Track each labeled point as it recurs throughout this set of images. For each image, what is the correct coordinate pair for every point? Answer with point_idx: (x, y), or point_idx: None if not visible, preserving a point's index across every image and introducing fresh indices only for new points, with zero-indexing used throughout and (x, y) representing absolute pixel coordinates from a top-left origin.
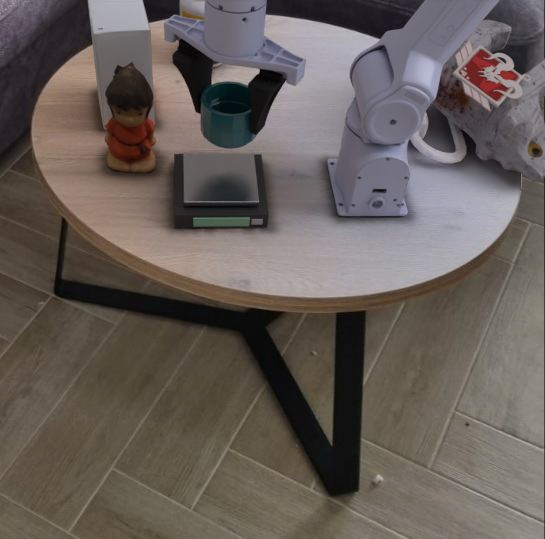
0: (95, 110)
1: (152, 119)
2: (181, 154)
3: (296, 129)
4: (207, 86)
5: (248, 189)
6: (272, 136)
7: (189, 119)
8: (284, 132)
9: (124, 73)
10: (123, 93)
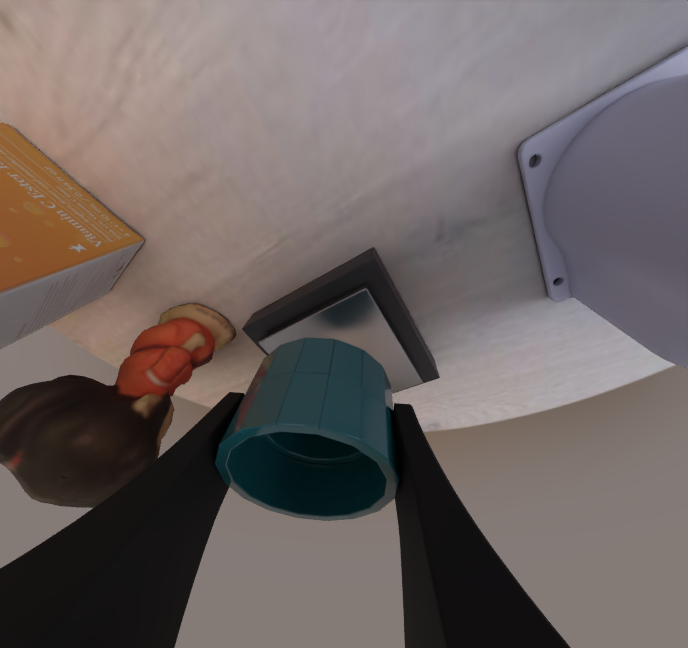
0: None
1: (132, 247)
2: (251, 325)
3: (401, 33)
4: (211, 456)
5: (396, 368)
6: (353, 120)
7: (169, 178)
8: (374, 78)
9: (38, 500)
10: None
